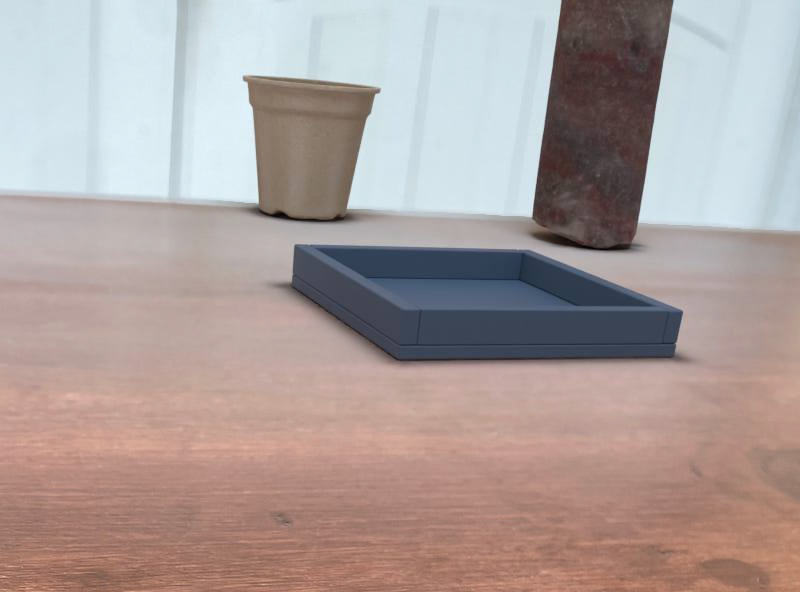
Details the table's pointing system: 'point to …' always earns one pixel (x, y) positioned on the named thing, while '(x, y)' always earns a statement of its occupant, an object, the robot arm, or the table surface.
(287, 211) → the flower pot
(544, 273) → the candle dish
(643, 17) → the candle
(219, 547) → the table surface
